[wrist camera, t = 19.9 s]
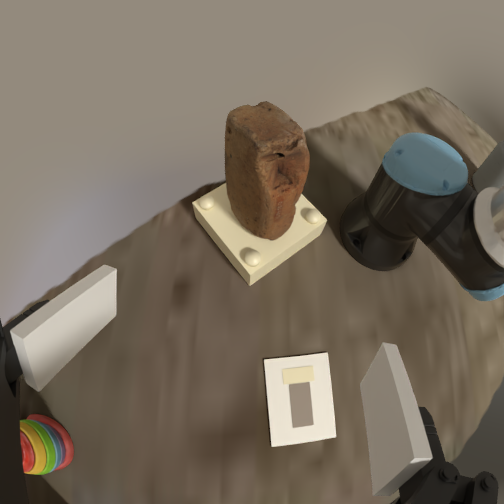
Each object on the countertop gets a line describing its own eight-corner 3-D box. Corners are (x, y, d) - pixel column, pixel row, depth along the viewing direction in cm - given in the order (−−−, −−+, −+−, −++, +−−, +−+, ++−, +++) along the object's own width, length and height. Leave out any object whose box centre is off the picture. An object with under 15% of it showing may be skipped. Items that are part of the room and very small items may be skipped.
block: (223, 203, 51) (216, 108, 32) (260, 184, 53) (269, 89, 34) (260, 253, 47) (271, 166, 29) (299, 230, 49) (328, 141, 31)
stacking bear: (27, 413, 38) (-40, 409, 21) (68, 415, 39) (1, 417, 23) (38, 467, 33) (-25, 481, 17) (82, 473, 34) (21, 496, 18)
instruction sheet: (327, 352, 46) (327, 352, 45) (335, 436, 40) (336, 437, 39) (263, 359, 45) (264, 359, 45) (271, 446, 39) (271, 446, 39)
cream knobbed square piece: (264, 176, 60) (267, 156, 54) (320, 234, 54) (328, 217, 49) (195, 218, 55) (191, 199, 50) (249, 286, 50) (250, 272, 45)
